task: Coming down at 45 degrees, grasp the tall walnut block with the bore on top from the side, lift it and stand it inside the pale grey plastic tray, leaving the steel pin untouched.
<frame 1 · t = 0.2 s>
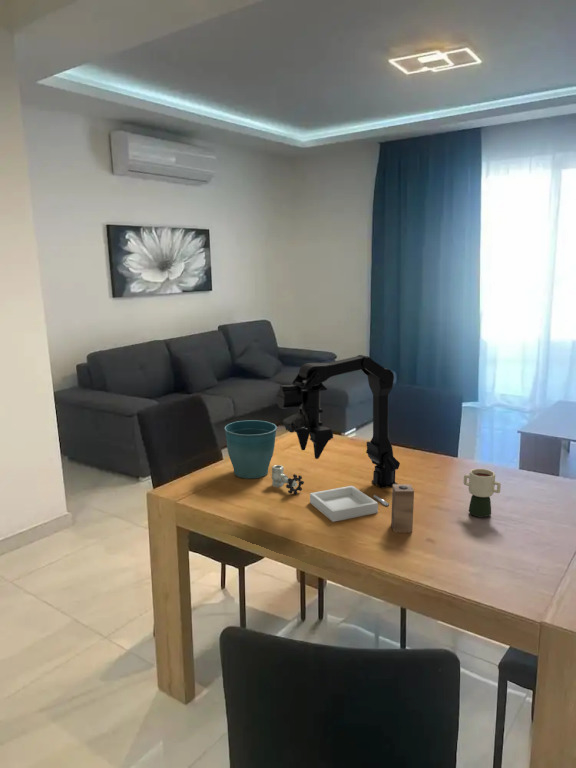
hand: (309, 454, 179), 15 cm above the table, tool pointing down, fingers open, 9 cm apart
walnut block: (401, 528, 161), on the table
steel pin: (381, 502, 180), on the table, tilted 19°
flower pot: (251, 473, 204), on the table
tray: (343, 507, 175), on the table
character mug: (479, 515, 170), on the table
valve: (284, 489, 190), on the table
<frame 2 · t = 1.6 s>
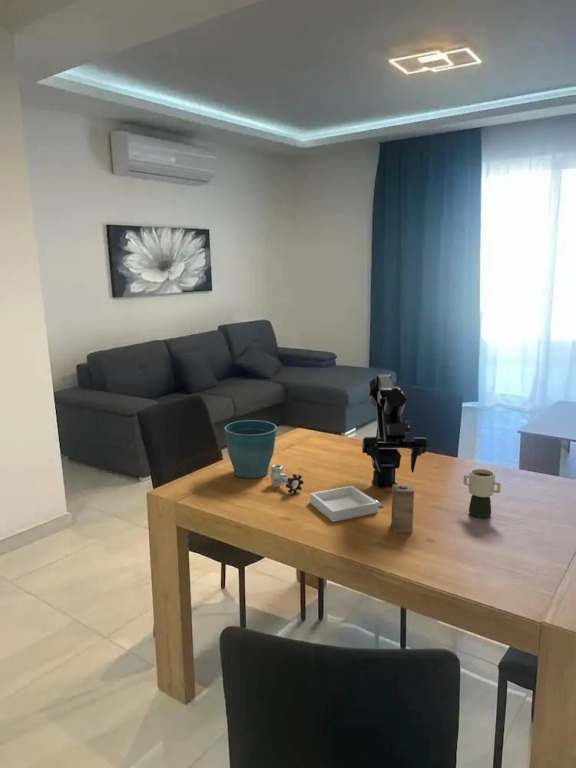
hand: (396, 471, 167), 13 cm above the table, tool tilted 45°, fingers open, 9 cm apart
steel pin: (373, 502, 178), on the table, tilted 77°
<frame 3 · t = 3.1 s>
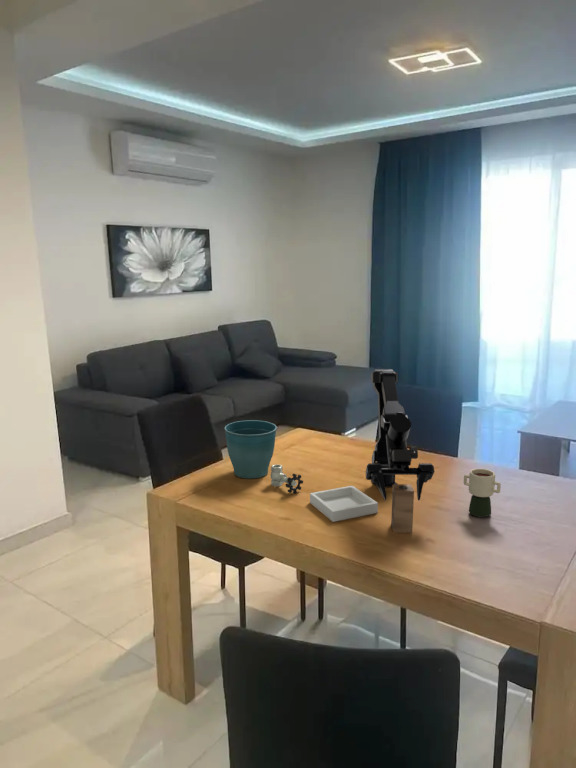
hand: (402, 499, 160), 8 cm above the table, tool tilted 45°, fingers open, 9 cm apart
steel pin: (366, 503, 177), on the table, tilted 102°
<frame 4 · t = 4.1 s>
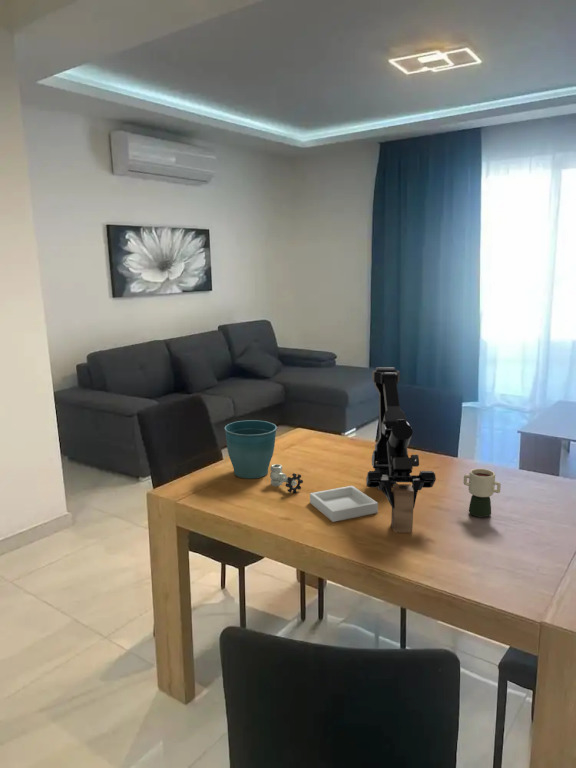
hand: (403, 508, 159), 7 cm above the table, tool tilted 45°, fingers closed on walnut block, 5 cm apart
walnut block: (401, 528, 161), on the table, touching gripper
steel pin: (369, 501, 178), point 1 cm above the table, tilted 161°
everything else where it was.
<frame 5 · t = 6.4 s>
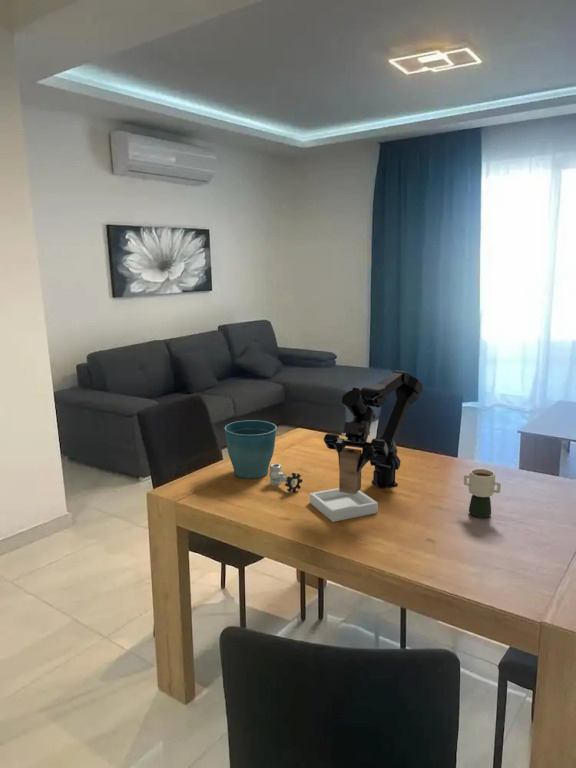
hand: (348, 470, 169), 13 cm above the table, tool tilted 45°, fingers closed on walnut block, 5 cm apart
walnut block: (350, 489, 171), point 7 cm above the table, touching gripper
steel pin: (366, 503, 177), on the table, tilted 95°
when the fingers open (9 cm above the table, at t = 8.0 s): walnut block drops 1 cm, resting on tray.
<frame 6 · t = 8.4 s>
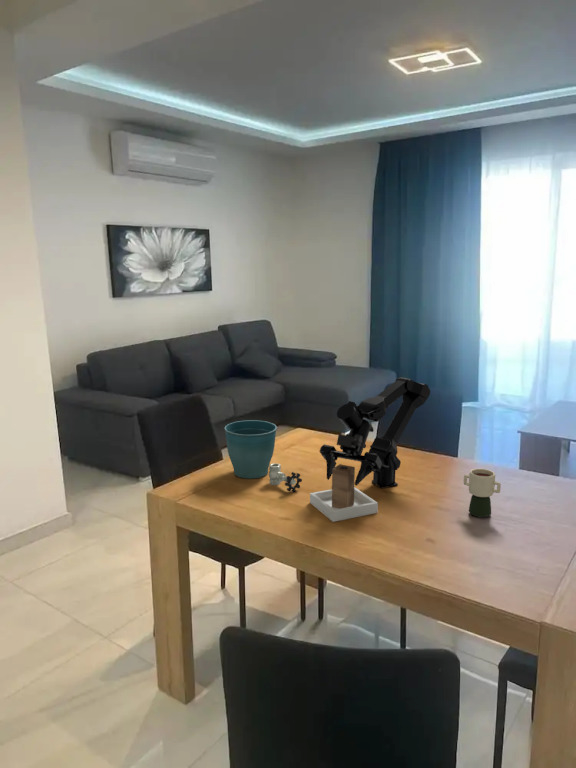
hand: (341, 481, 172), 9 cm above the table, tool tilted 45°, fingers open, 9 cm apart
walnut block: (342, 505, 175), point 1 cm above the table, touching tray
steel pin: (366, 503, 177), on the table, tilted 106°
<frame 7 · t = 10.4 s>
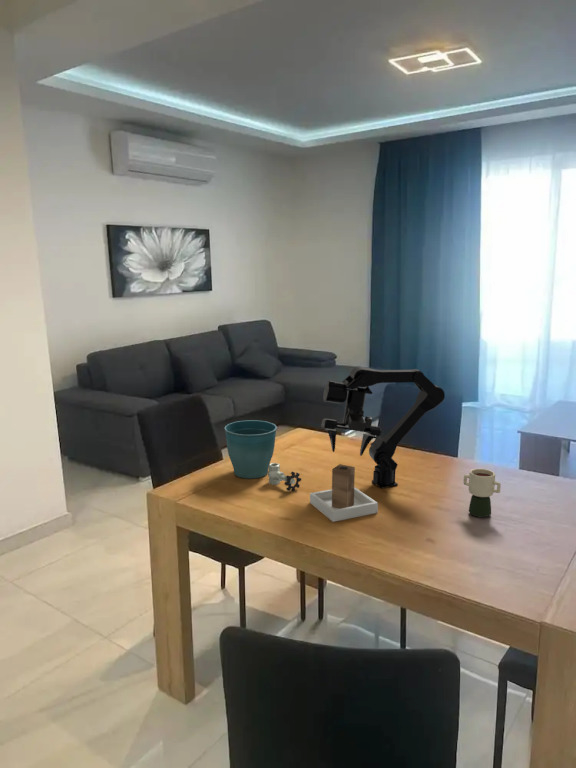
hand: (347, 453, 187), 12 cm above the table, tool pointing down, fingers open, 9 cm apart
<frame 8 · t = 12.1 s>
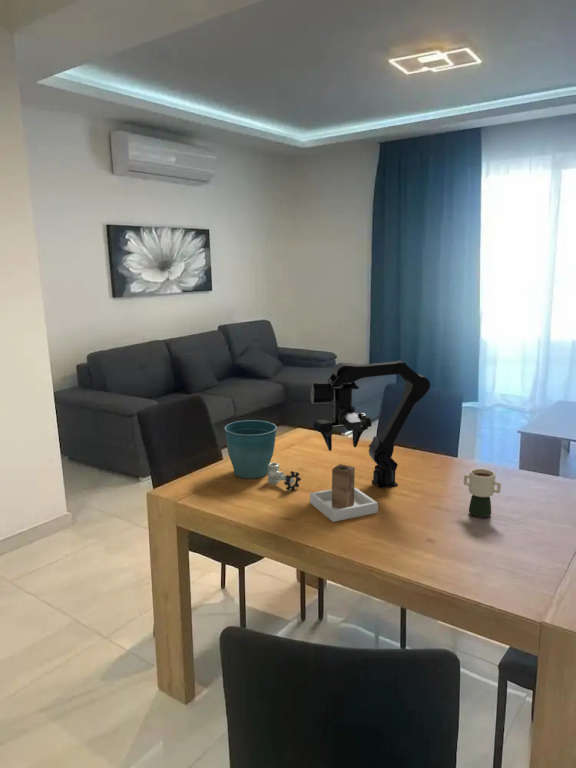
hand: (342, 448, 189), 13 cm above the table, tool pointing down, fingers open, 9 cm apart
steel pin: (367, 505, 178), on the table, tilted 12°
at the end: walnut block inside the target area on the tray (0.0 cm from its centre), point 0.6 cm above the tray's base; walnut block tilted 0°; the gripper is holding nothing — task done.
